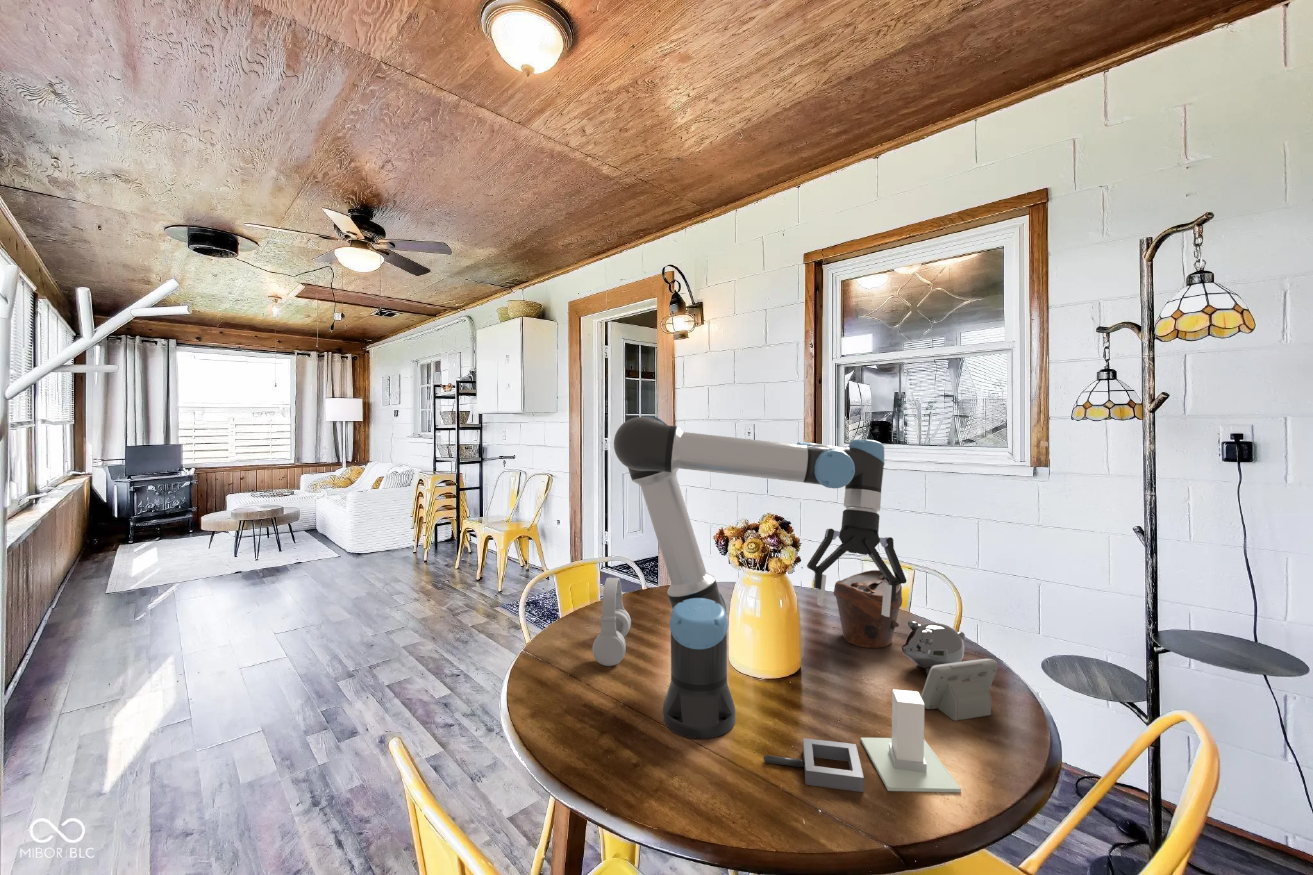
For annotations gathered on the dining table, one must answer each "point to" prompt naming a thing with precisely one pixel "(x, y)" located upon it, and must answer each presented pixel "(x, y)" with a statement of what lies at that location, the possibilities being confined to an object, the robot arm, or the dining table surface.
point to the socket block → (825, 775)
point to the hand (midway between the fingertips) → (852, 610)
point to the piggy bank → (933, 644)
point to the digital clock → (960, 688)
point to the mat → (906, 779)
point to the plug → (907, 731)
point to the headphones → (612, 626)
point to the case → (866, 609)
